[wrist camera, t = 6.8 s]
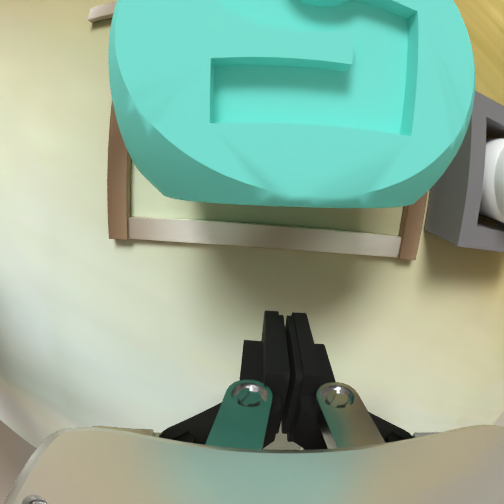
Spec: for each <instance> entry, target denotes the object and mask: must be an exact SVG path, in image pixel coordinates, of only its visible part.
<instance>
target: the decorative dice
mask: <svg viewBox="0 0 504 504" xmlns="http://www.w3.org/2000/svg"><path fill="white" fill-rule="evenodd" d="M109 78H110V87H111V94H112V101H113V106H114V111H115V115H116V119H117V123H118V126H119V129H120V133H121V135H122V138H123V141H124V143H125V146H126V148H127V151H128V153H129V155H130V157H131V159H132V160H133V162H134V164H135V165H136V167H137V168H138V170H139V171H140V172H141V173H142V175H143V176H144V177H145V178H146V179H147V180H149V181H150V182H151V183H152V184H153V185H154V186H155V187H156V188H157V189H158V190H159V191H160V192H161V193H162V194H163V195H164V196H167V197H170V198H174V199H180V200H187V201H196V202H208V203H221V204H238V205H259V206H284V207H317V208H388V207H401V206H408V205H412V204H414V203H415V202H416V201H417V200H418V199H420V198H421V197H422V196H423V195H424V194H425V193H426V192H427V191H429V190H430V189H431V187H432V186H433V185H434V184H435V183H436V182H437V181H438V179H439V178H440V177H441V176H442V175H443V174H444V172H445V171H446V169H447V168H448V166H449V165H450V163H451V162H452V160H453V159H454V157H455V156H456V154H457V152H458V150H459V148H460V146H461V144H462V142H463V140H464V137H465V134H466V132H467V129H468V125H469V122H470V118H471V114H472V109H473V103H474V95H475V65H474V58H473V52H472V47H471V43H470V39H469V35H468V32H467V29H466V26H465V24H464V21H463V19H462V16H461V14H460V12H459V10H458V8H457V6H456V4H455V3H454V1H453V0H117V2H116V5H115V9H114V13H113V18H112V23H111V29H110V38H109Z"/></svg>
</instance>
